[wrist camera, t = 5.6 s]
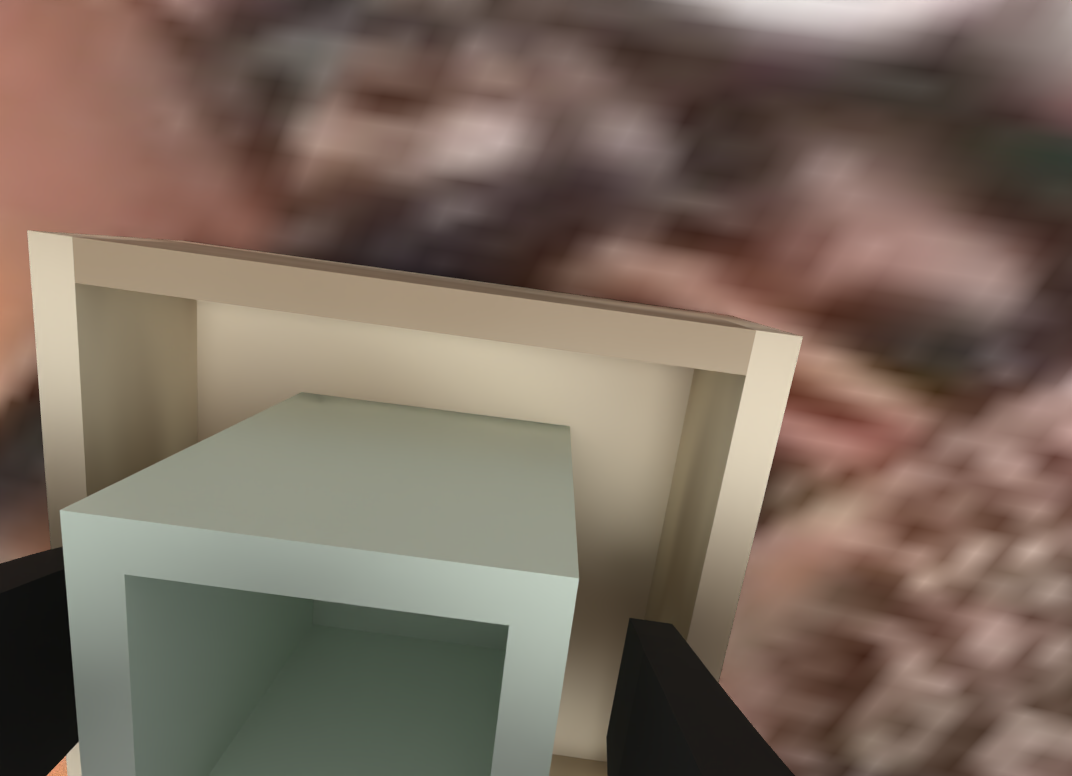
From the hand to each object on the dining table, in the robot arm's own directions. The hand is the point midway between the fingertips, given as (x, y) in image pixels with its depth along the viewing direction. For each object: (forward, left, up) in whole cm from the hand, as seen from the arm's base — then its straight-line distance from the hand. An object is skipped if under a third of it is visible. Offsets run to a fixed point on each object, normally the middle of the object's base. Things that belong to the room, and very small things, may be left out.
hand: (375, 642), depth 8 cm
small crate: (0, 0, -3) cm, 3 cm away
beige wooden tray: (0, 0, -3) cm, 3 cm away
